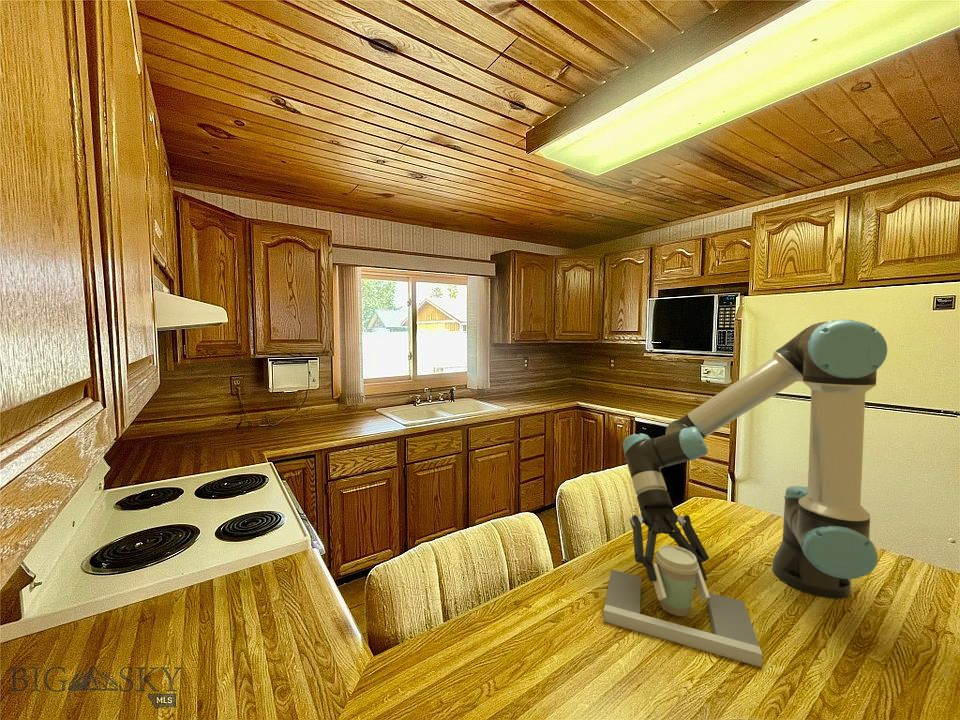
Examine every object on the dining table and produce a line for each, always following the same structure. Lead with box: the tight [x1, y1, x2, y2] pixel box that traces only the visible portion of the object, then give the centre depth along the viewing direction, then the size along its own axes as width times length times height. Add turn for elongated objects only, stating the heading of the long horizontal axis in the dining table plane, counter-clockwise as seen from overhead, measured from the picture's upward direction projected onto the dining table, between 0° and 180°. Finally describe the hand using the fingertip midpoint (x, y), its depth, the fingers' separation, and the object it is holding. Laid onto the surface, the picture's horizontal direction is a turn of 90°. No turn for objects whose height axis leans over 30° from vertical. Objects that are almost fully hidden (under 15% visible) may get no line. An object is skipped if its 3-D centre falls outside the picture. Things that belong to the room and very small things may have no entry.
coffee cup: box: [655, 544, 699, 617], centre depth 86 cm, size 8×9×12 cm
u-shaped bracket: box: [603, 569, 763, 668], centre depth 85 cm, size 28×16×2 cm, turn 66°
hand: (683, 598), depth 82 cm, fingers closed on coffee cup, 8 cm apart
